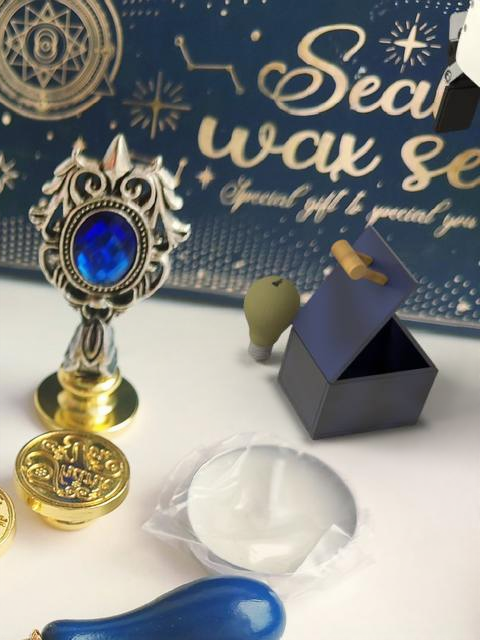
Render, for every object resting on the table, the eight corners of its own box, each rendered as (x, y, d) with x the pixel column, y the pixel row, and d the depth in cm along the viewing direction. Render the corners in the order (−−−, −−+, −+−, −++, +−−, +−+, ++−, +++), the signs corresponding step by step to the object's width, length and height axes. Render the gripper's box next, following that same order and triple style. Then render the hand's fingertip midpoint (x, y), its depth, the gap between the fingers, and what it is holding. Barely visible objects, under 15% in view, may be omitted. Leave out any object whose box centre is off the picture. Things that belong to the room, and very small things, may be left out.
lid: (373, 226, 101) (335, 210, 98) (420, 284, 94) (380, 268, 92) (294, 324, 108) (256, 311, 105) (333, 383, 102) (294, 371, 99)
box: (375, 366, 114) (395, 312, 109) (416, 424, 108) (439, 370, 103) (276, 380, 113) (291, 326, 108) (312, 439, 107) (330, 385, 102)
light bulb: (277, 381, 113) (298, 303, 105) (225, 366, 114) (243, 288, 107) (290, 350, 116) (312, 273, 109) (239, 336, 118) (258, 259, 110)
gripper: (684, -22, 70) (582, 209, 83) (539, -111, 82) (468, 104, 95) (579, -9, 70) (492, 222, 82) (447, -101, 81) (388, 114, 94)
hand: (479, 158), depth 88 cm, fingers open, 9 cm apart
